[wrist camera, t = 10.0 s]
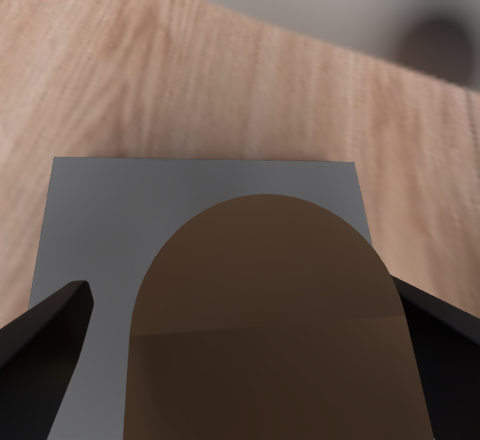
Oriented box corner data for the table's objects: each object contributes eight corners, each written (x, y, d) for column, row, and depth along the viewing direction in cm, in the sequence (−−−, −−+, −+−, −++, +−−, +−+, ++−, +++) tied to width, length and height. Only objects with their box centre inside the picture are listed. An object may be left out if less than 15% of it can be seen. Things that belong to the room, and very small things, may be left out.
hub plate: (386, 473, 14) (431, 514, 12) (30, 539, 12) (-24, 614, 9) (332, 182, 20) (354, 161, 17) (78, 180, 17) (53, 156, 14)
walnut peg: (253, 339, 16) (443, 479, 3) (186, 345, 15) (116, 540, 3) (249, 272, 17) (376, 193, 5) (186, 275, 16) (138, 193, 4)
